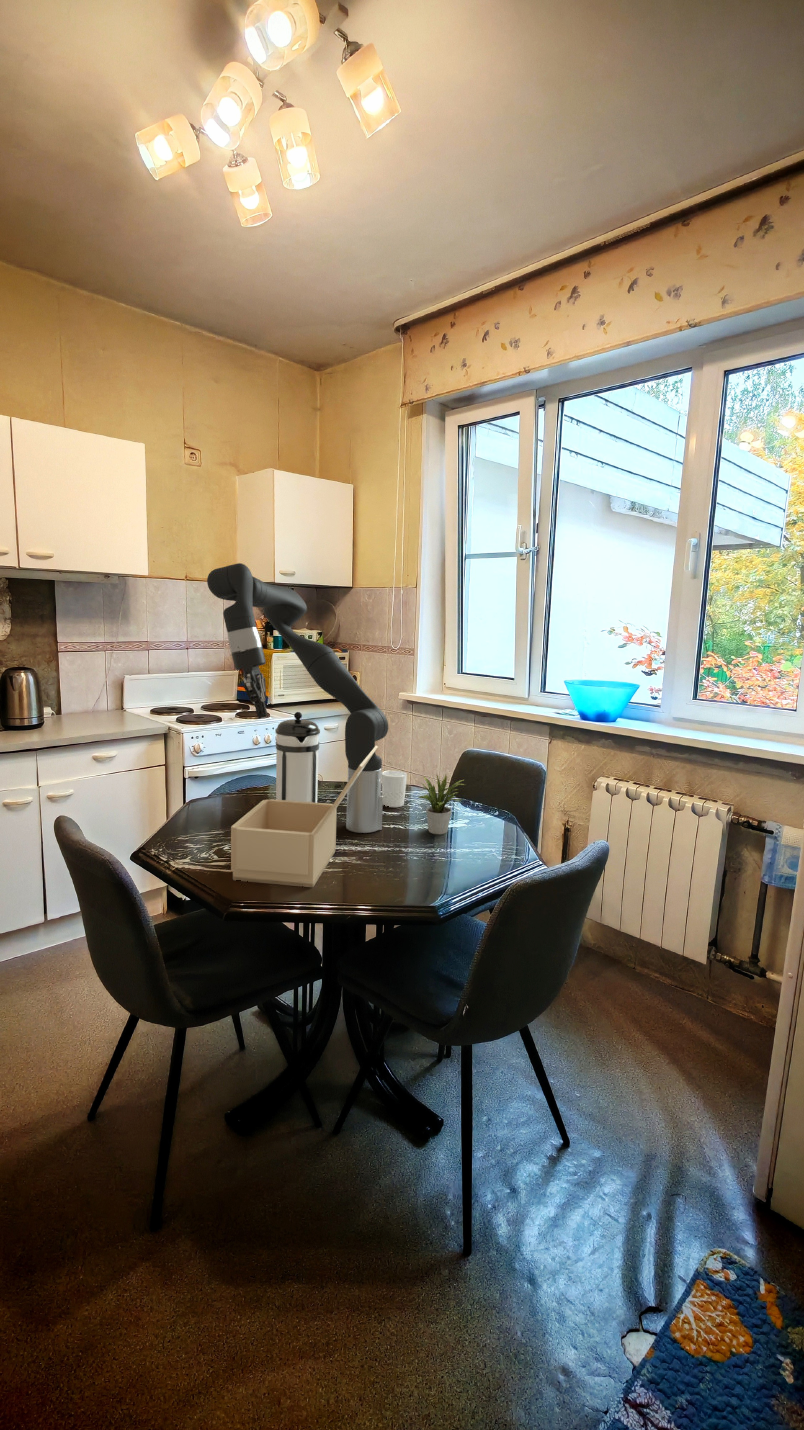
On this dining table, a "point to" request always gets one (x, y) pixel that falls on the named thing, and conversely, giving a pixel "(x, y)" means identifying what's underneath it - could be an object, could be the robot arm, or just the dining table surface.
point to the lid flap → (346, 789)
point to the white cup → (393, 788)
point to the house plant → (439, 805)
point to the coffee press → (297, 760)
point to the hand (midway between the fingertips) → (262, 717)
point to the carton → (283, 843)
